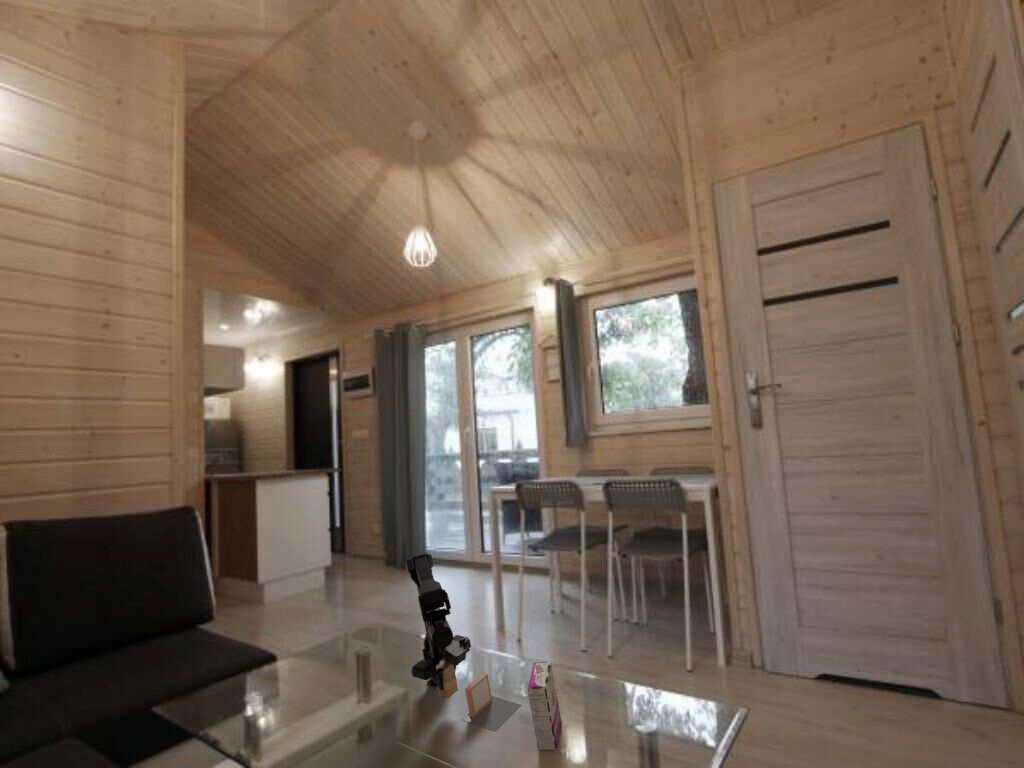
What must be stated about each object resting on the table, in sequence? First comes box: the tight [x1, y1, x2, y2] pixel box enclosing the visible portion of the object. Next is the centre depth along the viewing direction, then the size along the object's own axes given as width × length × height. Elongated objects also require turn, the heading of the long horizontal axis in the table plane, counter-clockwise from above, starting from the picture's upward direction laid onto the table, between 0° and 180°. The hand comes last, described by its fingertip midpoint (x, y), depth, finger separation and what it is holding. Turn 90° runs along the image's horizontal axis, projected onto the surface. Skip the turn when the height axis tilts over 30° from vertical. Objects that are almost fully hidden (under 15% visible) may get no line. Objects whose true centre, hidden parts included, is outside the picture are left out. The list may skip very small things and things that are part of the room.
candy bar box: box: [526, 661, 562, 752], centre depth 140 cm, size 11×5×16 cm, turn 168°
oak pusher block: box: [436, 660, 459, 699], centre depth 157 cm, size 4×4×8 cm
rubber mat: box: [467, 695, 522, 733], centre depth 153 cm, size 12×12×1 cm
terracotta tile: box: [464, 672, 492, 718], centre depth 156 cm, size 2×8×8 cm, turn 142°
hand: (447, 685), depth 157 cm, fingers closed on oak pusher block, 4 cm apart
